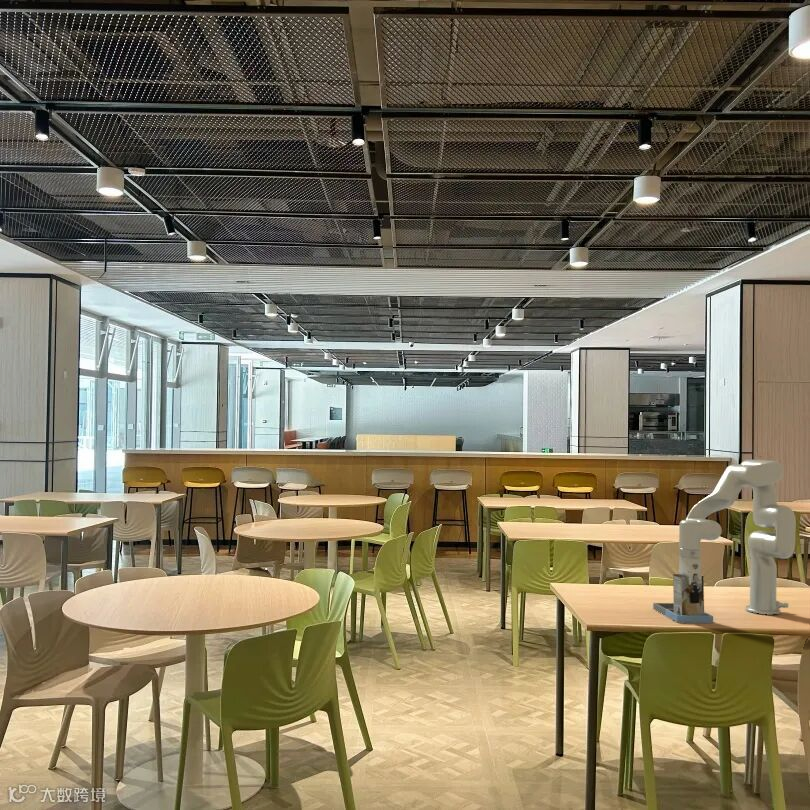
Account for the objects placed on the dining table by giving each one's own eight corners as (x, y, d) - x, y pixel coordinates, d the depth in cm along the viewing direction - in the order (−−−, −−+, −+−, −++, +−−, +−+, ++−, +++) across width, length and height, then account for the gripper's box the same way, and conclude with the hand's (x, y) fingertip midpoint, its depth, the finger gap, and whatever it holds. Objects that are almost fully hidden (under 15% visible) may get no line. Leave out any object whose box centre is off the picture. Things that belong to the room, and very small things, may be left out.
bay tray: (686, 609, 311) (686, 603, 312) (713, 623, 290) (713, 616, 290) (653, 609, 310) (653, 602, 310) (677, 622, 289) (677, 615, 289)
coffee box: (695, 616, 299) (695, 573, 300) (704, 619, 293) (704, 576, 293) (672, 616, 297) (672, 573, 298) (681, 620, 291) (681, 576, 292)
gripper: (710, 557, 287) (709, 605, 287) (688, 550, 305) (688, 595, 304) (690, 557, 287) (689, 605, 286) (670, 549, 304) (669, 595, 303)
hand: (688, 600), depth 295 cm, fingers open, 8 cm apart
